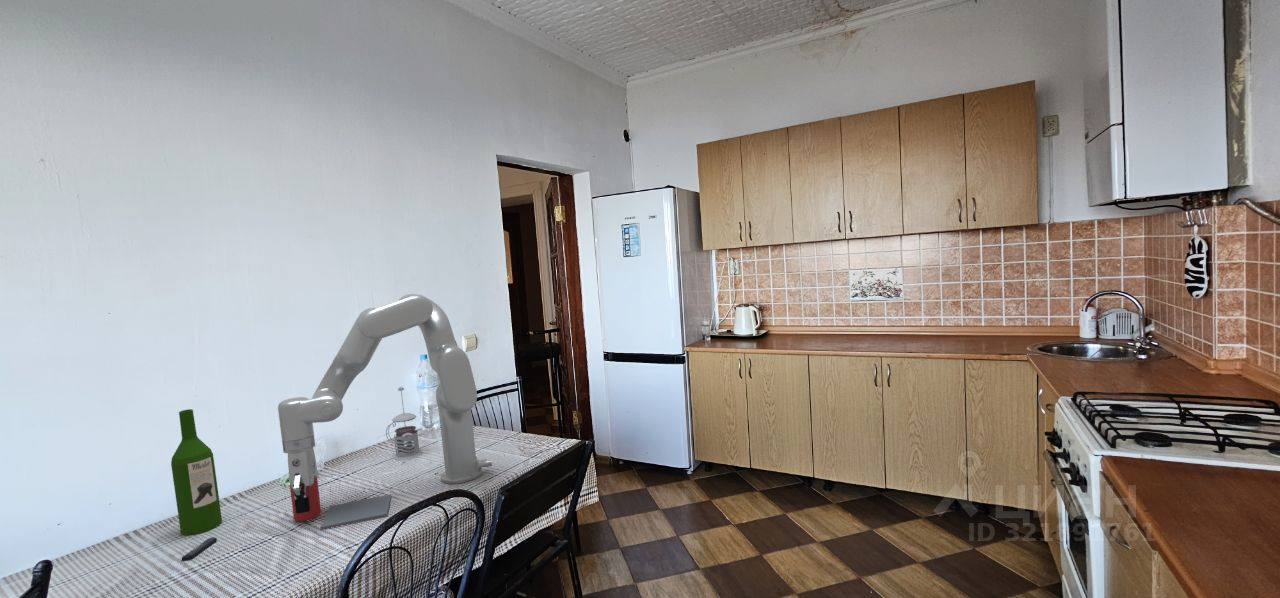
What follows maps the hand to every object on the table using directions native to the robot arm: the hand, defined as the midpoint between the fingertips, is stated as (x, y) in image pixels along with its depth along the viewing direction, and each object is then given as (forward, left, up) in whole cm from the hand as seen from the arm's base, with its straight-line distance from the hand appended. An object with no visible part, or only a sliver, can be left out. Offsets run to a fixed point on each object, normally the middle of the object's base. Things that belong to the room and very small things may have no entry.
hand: (306, 505), depth 154 cm
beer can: (0, 0, -4) cm, 4 cm away
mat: (-13, +4, -3) cm, 14 cm away
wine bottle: (+27, -8, -4) cm, 28 cm away
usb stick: (+22, +8, -4) cm, 24 cm away
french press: (-23, -41, -4) cm, 47 cm away
